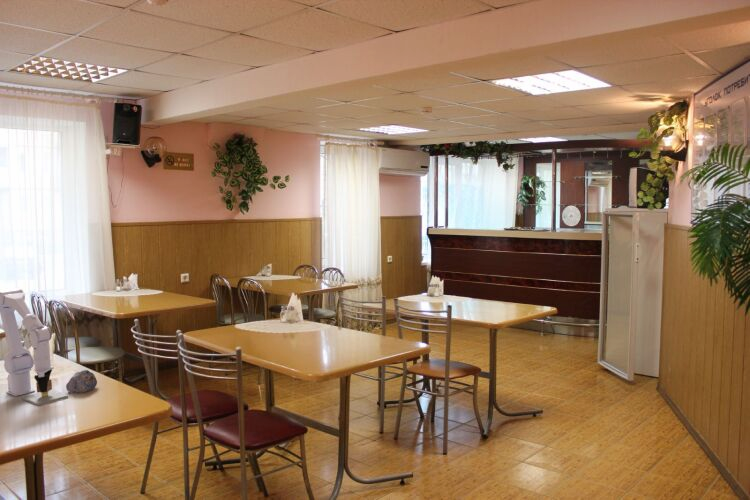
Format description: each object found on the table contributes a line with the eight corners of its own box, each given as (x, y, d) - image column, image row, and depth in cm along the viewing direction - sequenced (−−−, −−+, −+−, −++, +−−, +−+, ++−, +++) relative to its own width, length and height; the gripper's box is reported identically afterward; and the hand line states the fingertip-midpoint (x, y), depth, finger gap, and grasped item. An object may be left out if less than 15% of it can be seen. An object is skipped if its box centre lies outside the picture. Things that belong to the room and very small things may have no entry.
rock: (101, 380, 271) (89, 363, 266) (90, 397, 263) (78, 381, 257) (80, 384, 274) (68, 367, 268) (69, 401, 265) (56, 385, 260)
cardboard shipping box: (37, 392, 254) (36, 382, 253) (42, 389, 258) (41, 379, 257) (46, 392, 254) (46, 382, 253) (52, 389, 258) (51, 379, 257)
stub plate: (22, 399, 255) (21, 392, 255) (51, 391, 265) (51, 384, 265) (37, 405, 247) (37, 398, 247) (68, 397, 256) (67, 390, 256)
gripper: (51, 360, 249) (53, 393, 250) (54, 352, 262) (57, 383, 264) (31, 362, 246) (33, 396, 248) (35, 354, 260) (38, 385, 261)
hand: (44, 389), depth 255 cm, fingers closed on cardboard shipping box, 5 cm apart
